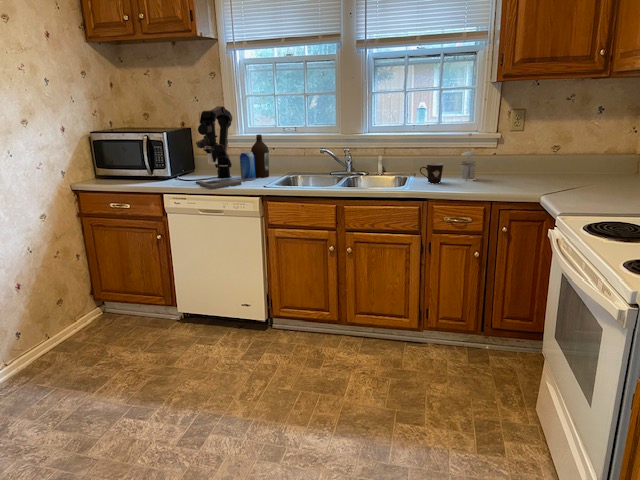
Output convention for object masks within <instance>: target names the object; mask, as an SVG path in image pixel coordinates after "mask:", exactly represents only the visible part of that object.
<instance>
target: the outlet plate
mask: <svg viewBox="0 0 640 480" xmlns="http://www.w3.org/2000/svg"><path fill="white" fill-rule="evenodd" d="M199 186H200V187H202V188H206V189H209V190H216V189H217V190H218V189H225V188H229V186H231V187H236V186H242V181H241V180H237V179H233V178H230V177H229V178H220V179H217V180H215V179H214V180H207V181H204V182H200V185H199Z"/></svg>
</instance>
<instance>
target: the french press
mask: <svg viewBox="0 0 640 480" xmlns="http://www.w3.org/2000/svg"><path fill="white" fill-rule="evenodd" d="M467 136H469V137H471V136H473V134H472V133H468V135H467ZM468 143H469V144H468V145H469V147H468V149H471V148H470V146H471V145H470V144H471V140H469V142H468ZM460 156H462V157H467V160H462V161H461V163H462V164H460V171H459V173H460V176H459V178H460V179H466V180H467V179H474V178H475V179H476V164H475V163H476V161H474V160H473V158H471V159H470V157H475V156H477V154H476V153H475V152H473V151H470V150H468V151H465V152H462V153H461V154H460Z"/></svg>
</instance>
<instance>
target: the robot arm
mask: <svg viewBox="0 0 640 480" xmlns="http://www.w3.org/2000/svg"><path fill="white" fill-rule="evenodd" d="M216 120H217V124H218V125H219V137H218V135H217V134H216ZM232 121H233V116H232V114H231V112H230V111H229V110H228V109H226V107H225V106H222V105H221V106H220V105H219V106H215V107H214V108H212V109H210V110H203V111H202V112H201V114H200V120H199V124H200V125H198V127H197V132H198V133H199V134H200V135H202V136H203V138H201V139H200V140H197V141H196V142H195V144H196V146H197V148H198V149H202V151H204V152H206V154H207V153H212V158H213V162H216V159H217V162H218V164H214V166H215V168H216V169H217V178H219V179H228V178H229V179H230V178H232V177H233V176H232V175H231V171H230V168H232V162H231V159H230V155H229V154H228V152H227V149H228V135H229V128H230V127H231V125H232ZM217 138H219V139H218V141H219V142H217Z"/></svg>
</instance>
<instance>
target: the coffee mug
mask: <svg viewBox="0 0 640 480" xmlns="http://www.w3.org/2000/svg"><path fill="white" fill-rule="evenodd" d="M423 169H425V170H426V171H427V175H426V174H424V173H423V172H422V170H423ZM443 169H444V163H443V162H442V163H440V162H429V163H426V166H421V167H420V168H419V172H420V174H421V175H423V176H424V177H425V178H427V183H428V182H430V183H439V182H440V183H441V180H442V174H443ZM430 183H429V184H430ZM440 183H439V184H440Z"/></svg>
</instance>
